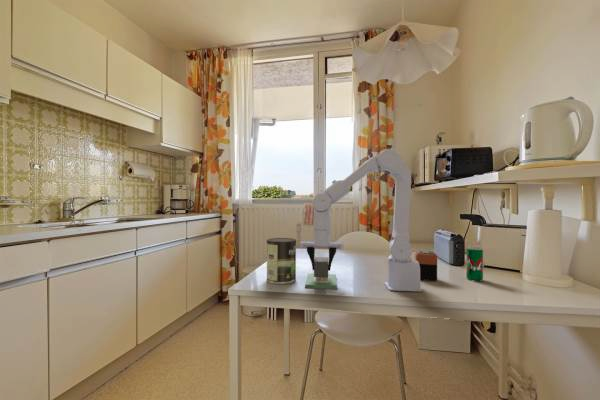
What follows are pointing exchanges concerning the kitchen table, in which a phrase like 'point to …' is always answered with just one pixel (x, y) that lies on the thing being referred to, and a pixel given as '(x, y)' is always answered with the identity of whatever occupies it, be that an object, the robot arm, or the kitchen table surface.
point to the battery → (427, 265)
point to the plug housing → (321, 267)
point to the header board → (321, 282)
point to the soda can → (474, 262)
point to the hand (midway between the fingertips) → (321, 269)
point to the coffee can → (281, 260)
